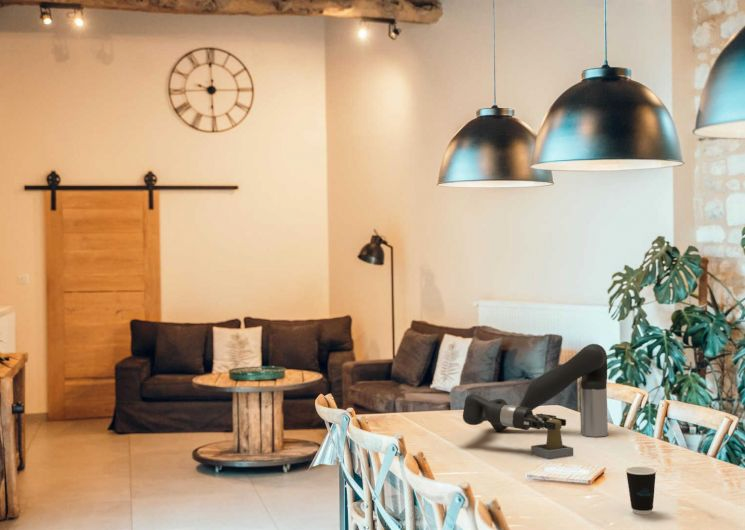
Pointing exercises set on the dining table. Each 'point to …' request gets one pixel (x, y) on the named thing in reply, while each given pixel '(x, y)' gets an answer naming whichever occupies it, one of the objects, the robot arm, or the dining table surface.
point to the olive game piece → (554, 436)
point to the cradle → (551, 451)
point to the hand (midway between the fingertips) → (560, 424)
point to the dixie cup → (641, 488)
